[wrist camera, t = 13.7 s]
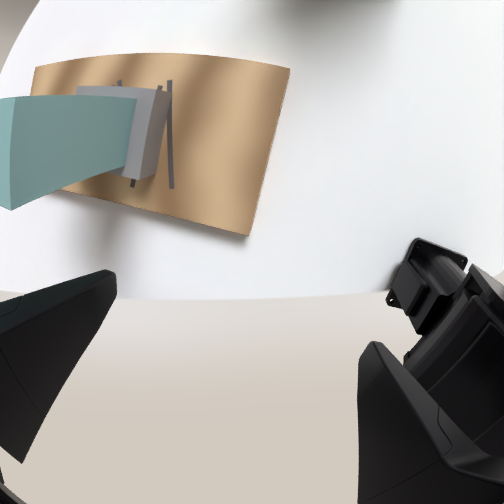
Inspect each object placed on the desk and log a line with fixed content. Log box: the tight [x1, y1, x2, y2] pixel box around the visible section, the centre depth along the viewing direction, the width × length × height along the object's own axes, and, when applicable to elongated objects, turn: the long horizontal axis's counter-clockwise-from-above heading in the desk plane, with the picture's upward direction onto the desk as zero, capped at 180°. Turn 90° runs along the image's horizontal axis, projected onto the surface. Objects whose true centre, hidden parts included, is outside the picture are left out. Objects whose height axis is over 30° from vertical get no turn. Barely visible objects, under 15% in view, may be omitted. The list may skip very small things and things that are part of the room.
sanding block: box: [0, 86, 173, 211], centre depth 12 cm, size 7×6×12 cm
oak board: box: [30, 53, 290, 236], centre depth 18 cm, size 24×12×2 cm, turn 77°
